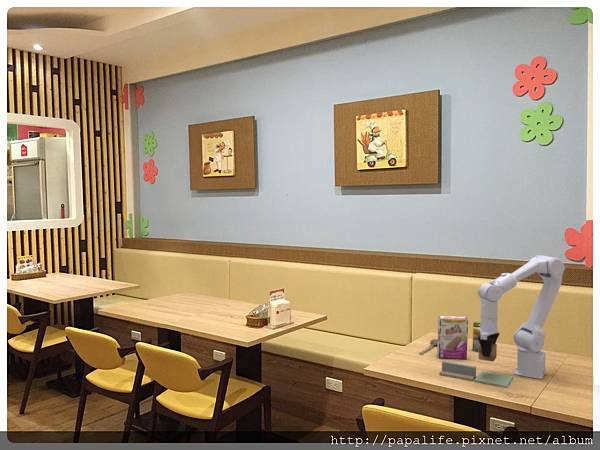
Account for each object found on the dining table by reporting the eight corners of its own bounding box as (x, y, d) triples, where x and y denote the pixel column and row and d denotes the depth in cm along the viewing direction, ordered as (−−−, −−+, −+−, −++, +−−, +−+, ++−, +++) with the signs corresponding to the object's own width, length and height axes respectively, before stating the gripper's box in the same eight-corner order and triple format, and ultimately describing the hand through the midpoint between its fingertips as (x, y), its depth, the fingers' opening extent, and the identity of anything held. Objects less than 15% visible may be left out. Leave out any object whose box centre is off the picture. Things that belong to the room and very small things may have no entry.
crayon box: (472, 351, 225) (473, 323, 224) (472, 349, 228) (473, 322, 227) (490, 352, 223) (491, 325, 222) (490, 350, 225) (491, 323, 225)
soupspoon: (448, 346, 236) (434, 344, 240) (448, 338, 236) (434, 336, 240) (428, 357, 218) (413, 354, 222) (428, 348, 218) (413, 346, 222)
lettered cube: (496, 357, 195) (496, 344, 194) (493, 361, 190) (493, 347, 190) (482, 355, 197) (482, 341, 197) (478, 359, 193) (478, 345, 193)
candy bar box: (438, 358, 215) (439, 318, 214) (436, 355, 220) (437, 315, 219) (467, 359, 214) (468, 319, 212) (465, 355, 219) (465, 316, 217)
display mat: (513, 377, 193) (513, 376, 193) (507, 387, 184) (507, 385, 184) (481, 372, 199) (482, 370, 199) (474, 381, 190) (474, 379, 190)
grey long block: (475, 377, 194) (476, 366, 194) (472, 381, 190) (473, 370, 190) (442, 371, 200) (443, 360, 200) (439, 374, 197) (439, 364, 196)
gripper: (482, 311, 201) (481, 347, 202) (472, 320, 189) (471, 358, 190) (502, 314, 197) (501, 350, 198) (493, 322, 185) (492, 361, 186)
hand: (488, 354), depth 194 cm, fingers closed on lettered cube, 5 cm apart
